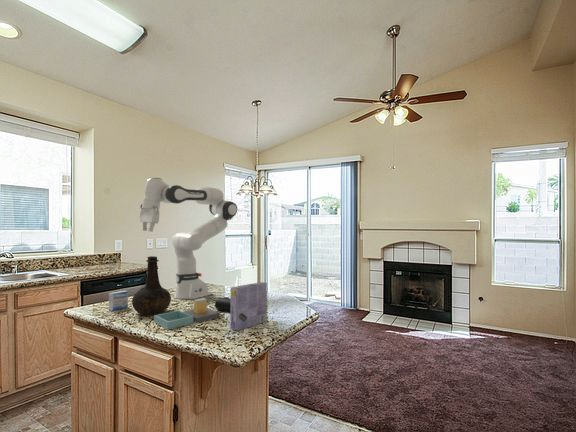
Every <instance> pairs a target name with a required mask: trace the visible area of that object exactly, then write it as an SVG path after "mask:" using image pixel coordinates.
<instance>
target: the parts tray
mask: <svg viewBox="0 0 576 432" xmlns="http://www.w3.org/2000/svg"><path fill="white" fill-rule="evenodd" d="M153 323H155V324H156V325H158V326H159V327H162V328H164V329H165V330H173V329H176V328H180V327H184V326H188V325H192V324H194V322H193V316H191V315H189V314H186V313H184V312H183V311H181V310H174V311H168V312H165V313H159V314H155V315H153Z"/></svg>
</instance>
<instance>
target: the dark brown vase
mask: <svg viewBox="0 0 576 432" xmlns="http://www.w3.org/2000/svg"><path fill="white" fill-rule="evenodd" d="M146 258H147V260H145V262H147V271H146V272H147V273H146V279H145V280H146V281H145V285H144V287H142V288H140V289H139V290H137V291H136V292H135V294H133V296H132V299H131V304H132V308H133V309H134V310H135V311H136V313H138V314H140V315H141V316H154V315H159V314H163V312H165V311H166V310H167V309H168V308H169V306H170V304H171V302H172V296H171V292H170V291H168V289H166V288H164V287H163V286H162V285H161V282H160V279H159V270H158V262H159V261H160V260H159V259H158V256H155V255H151V256H147V257H146Z"/></svg>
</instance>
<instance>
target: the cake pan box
mask: <svg viewBox="0 0 576 432" xmlns="http://www.w3.org/2000/svg"><path fill="white" fill-rule="evenodd" d="M267 285H268V283H267V282H264V281H260V282H255V283H248V284H243V285H236V286H231V287H230V299H231V312H230V330H234V331H236V332H239V331H242V330H245V329H247V328H251V327H254V326H257V325H259V324H263V323H265V322H266V323H267V321H268V314H267V313H268V305H267V304H268V301H267V300H268V299H267V298H268V295H267V293H268V290H267V289H268V288H267V287H268V286H267Z"/></svg>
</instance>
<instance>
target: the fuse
mask: <svg viewBox="0 0 576 432" xmlns="http://www.w3.org/2000/svg"><path fill="white" fill-rule="evenodd" d="M206 308H207V298H204V297H203V298H202V297H201V298H195V299H193V309H194V314H201V313H205V312H206Z"/></svg>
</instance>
